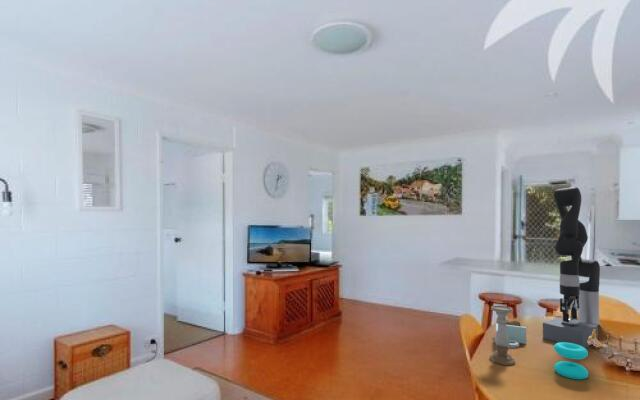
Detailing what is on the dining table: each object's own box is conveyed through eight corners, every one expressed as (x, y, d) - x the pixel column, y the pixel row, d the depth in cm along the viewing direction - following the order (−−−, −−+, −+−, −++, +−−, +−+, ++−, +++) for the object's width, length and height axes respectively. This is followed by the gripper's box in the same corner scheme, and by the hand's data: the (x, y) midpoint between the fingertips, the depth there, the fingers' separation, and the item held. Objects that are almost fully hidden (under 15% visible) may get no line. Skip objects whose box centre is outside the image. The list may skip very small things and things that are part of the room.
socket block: (558, 332, 178) (558, 317, 178) (597, 341, 165) (597, 325, 165) (542, 338, 169) (542, 322, 169) (583, 348, 155) (582, 332, 156)
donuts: (586, 353, 123) (552, 346, 130) (587, 383, 123) (552, 375, 129) (588, 345, 131) (555, 339, 138) (589, 373, 131) (556, 366, 137)
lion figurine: (502, 338, 168) (502, 318, 168) (493, 334, 173) (493, 315, 173) (526, 334, 173) (526, 315, 174) (516, 331, 178) (516, 312, 178)
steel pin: (565, 334, 171) (565, 315, 171) (581, 338, 166) (580, 319, 166) (559, 336, 168) (558, 318, 168) (575, 340, 162) (574, 321, 163)
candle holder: (512, 367, 135) (512, 312, 136) (487, 361, 141) (486, 308, 141) (516, 360, 142) (516, 307, 143) (492, 354, 148) (492, 303, 148)
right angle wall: (496, 348, 156) (496, 330, 156) (495, 340, 167) (495, 323, 167) (528, 353, 151) (528, 335, 151) (526, 344, 162) (525, 327, 162)
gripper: (567, 281, 175) (567, 315, 174) (553, 284, 167) (553, 320, 166) (585, 283, 169) (586, 319, 168) (572, 287, 160) (572, 324, 160)
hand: (570, 320), depth 167 cm, fingers open, 8 cm apart
